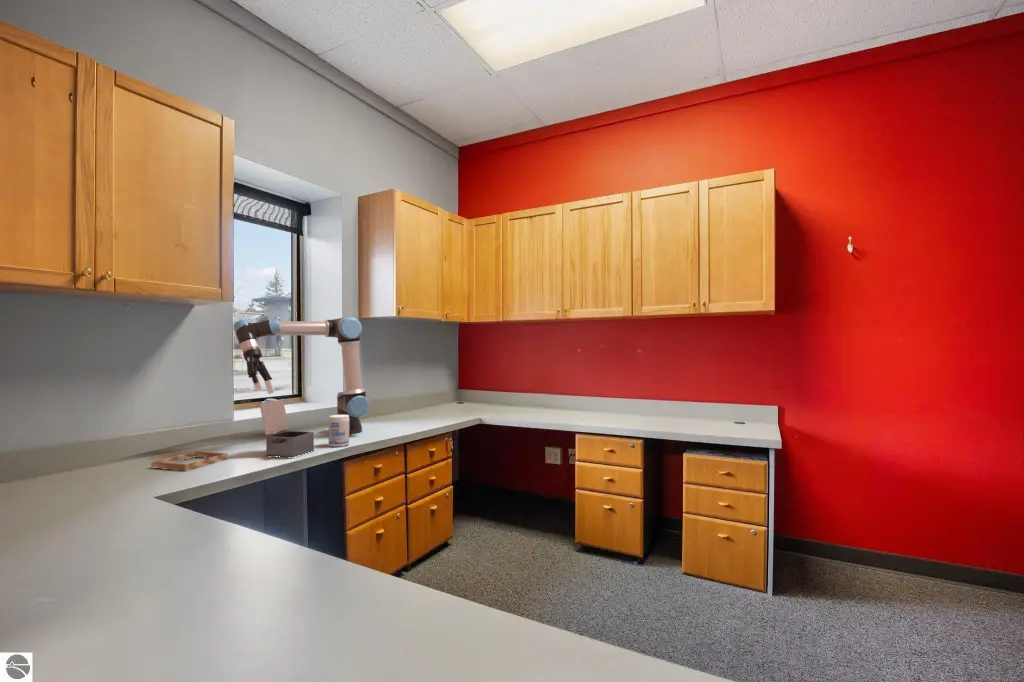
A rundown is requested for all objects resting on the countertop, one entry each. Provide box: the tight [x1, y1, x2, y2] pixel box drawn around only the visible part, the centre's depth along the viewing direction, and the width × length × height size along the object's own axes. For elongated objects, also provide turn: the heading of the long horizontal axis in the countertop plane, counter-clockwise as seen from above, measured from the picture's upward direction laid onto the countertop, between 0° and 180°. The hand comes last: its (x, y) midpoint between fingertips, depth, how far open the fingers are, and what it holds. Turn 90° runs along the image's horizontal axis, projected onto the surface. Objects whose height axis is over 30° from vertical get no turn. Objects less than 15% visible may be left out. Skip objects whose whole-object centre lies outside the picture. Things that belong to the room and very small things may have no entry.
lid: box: [259, 399, 290, 436], centre depth 222 cm, size 14×15×2 cm
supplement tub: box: [328, 414, 350, 448], centre depth 238 cm, size 10×10×15 cm
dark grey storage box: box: [265, 430, 315, 458], centre depth 220 cm, size 19×14×9 cm
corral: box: [150, 450, 229, 472], centre depth 203 cm, size 20×18×2 cm
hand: (265, 391), depth 226 cm, fingers open, 13 cm apart
